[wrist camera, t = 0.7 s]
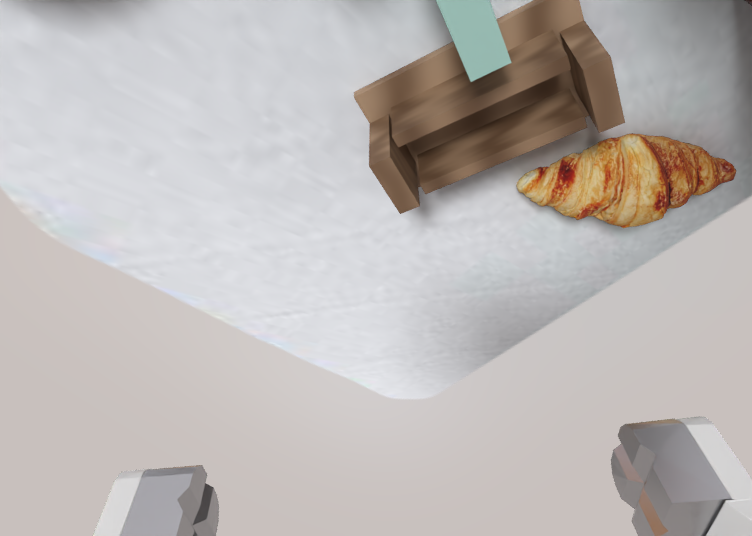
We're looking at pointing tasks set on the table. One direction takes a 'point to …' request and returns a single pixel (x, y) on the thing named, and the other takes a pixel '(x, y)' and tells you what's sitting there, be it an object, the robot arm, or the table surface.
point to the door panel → (475, 35)
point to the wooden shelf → (488, 102)
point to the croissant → (626, 179)
